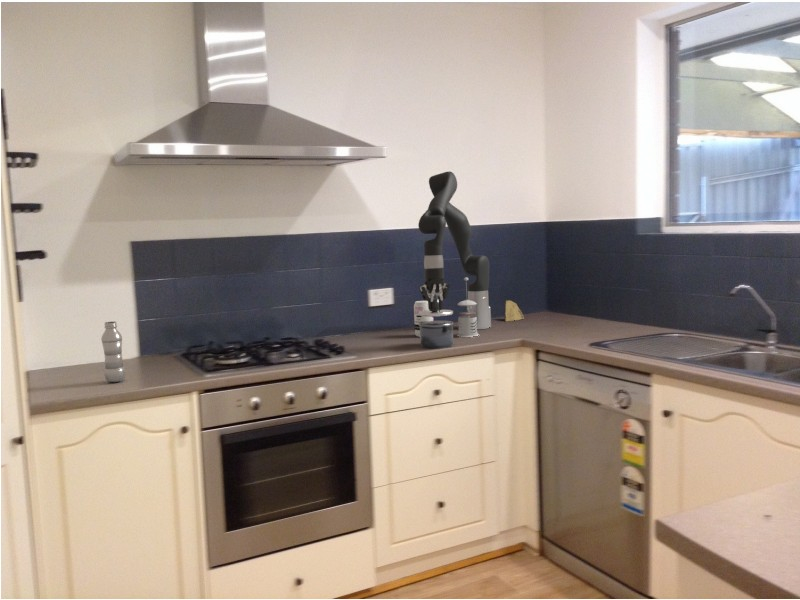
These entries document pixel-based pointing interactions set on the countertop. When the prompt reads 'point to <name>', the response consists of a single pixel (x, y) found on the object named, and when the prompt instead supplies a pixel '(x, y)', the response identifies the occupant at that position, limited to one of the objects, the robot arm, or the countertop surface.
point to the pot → (436, 334)
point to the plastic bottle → (113, 353)
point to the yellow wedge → (512, 311)
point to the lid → (436, 311)
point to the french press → (467, 319)
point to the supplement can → (418, 319)
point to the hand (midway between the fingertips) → (435, 310)
